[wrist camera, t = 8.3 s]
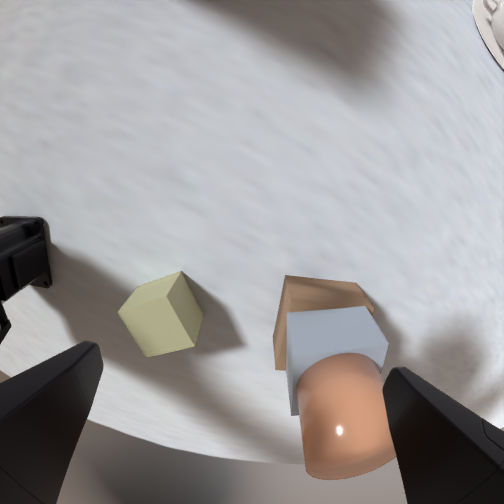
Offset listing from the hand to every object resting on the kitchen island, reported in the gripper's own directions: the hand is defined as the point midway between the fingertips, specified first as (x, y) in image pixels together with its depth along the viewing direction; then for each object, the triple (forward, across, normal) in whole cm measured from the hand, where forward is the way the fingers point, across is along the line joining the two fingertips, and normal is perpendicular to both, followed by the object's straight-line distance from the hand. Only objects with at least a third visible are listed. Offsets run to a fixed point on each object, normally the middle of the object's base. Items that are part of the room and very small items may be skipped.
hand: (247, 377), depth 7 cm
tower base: (+13, -6, +5) cm, 15 cm away
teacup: (+12, -23, -25) cm, 36 cm away
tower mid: (+9, -6, +5) cm, 11 cm away
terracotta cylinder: (+5, -5, +5) cm, 9 cm away
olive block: (+13, +6, +5) cm, 15 cm away
